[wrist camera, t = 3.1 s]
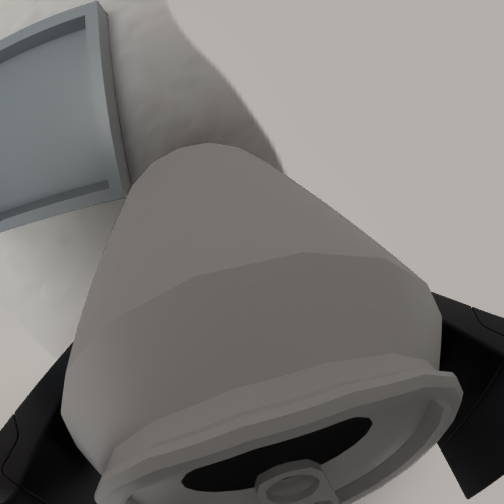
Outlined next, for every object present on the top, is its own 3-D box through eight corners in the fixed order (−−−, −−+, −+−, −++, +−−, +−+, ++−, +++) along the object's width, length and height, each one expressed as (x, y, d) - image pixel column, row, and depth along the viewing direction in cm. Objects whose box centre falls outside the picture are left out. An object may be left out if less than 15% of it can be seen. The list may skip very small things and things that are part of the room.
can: (263, 118, 12) (562, 227, 2) (298, 262, 16) (441, 464, 6) (97, 178, 12) (-63, 447, 1) (162, 311, 15) (189, 555, 5)
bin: (131, 184, 18) (124, 197, 16) (-6, 223, 16) (-26, 241, 14) (107, 14, 13) (97, 0, 10) (-35, 77, 11) (-59, 77, 8)
